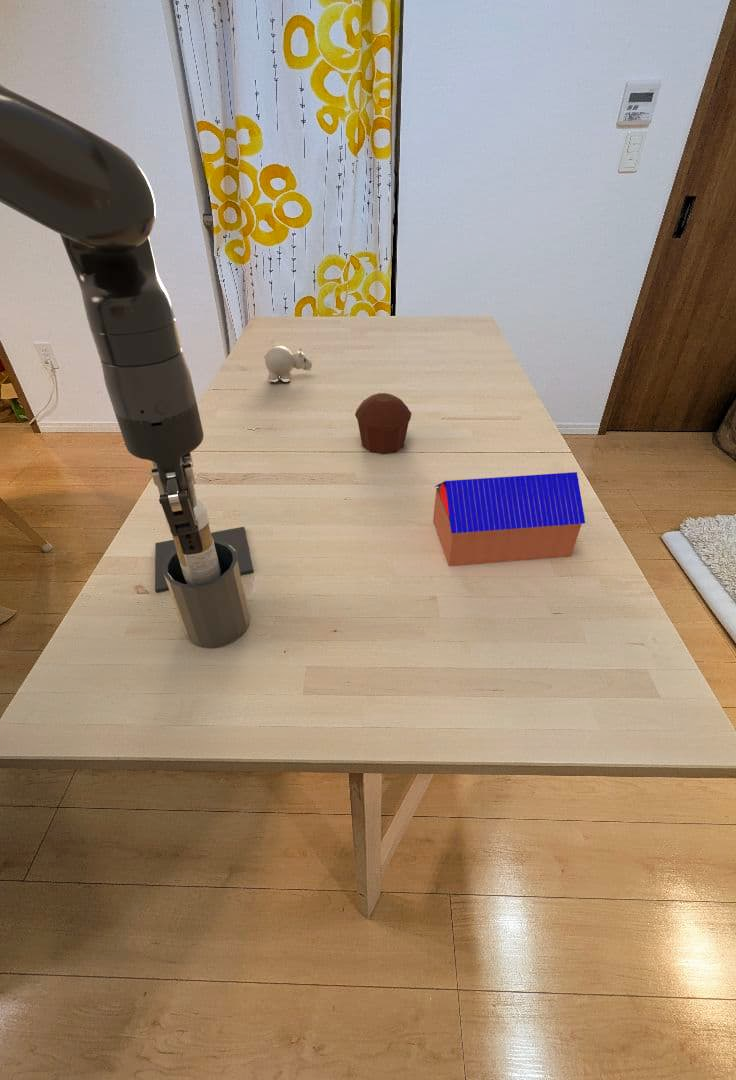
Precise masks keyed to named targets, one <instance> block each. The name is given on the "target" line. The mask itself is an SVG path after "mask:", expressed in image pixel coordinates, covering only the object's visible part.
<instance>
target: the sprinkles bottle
mask: <svg viewBox="0 0 736 1080" xmlns="http://www.w3.org/2000/svg"><path fill="white" fill-rule="evenodd" d="M194 510H195V514H196V518H197V519H198V522H199V524H198V529H199V533H200V537H201V541H202V544H203V551H202V552H200V553H195V554H190V555H185V554H183V552H182V548H181V545H180V541H179V538H178V536H173V534H172V533H171V536H172V540H174V543H175V546H176V550H177V555H178V558H179V561H180V565H181V568H182V572H183V575H184V578H185V581H186V582H187V584H191V585H197V584H202V583H207V582H210V581H212V580H214V579H216V578H218V577H221V570H220V566H219V562H218V557H217V553H216V549H215V545H214V541H213V538H212V535H211V533H212V531H211V527H210V522H209V521H210V516H209V512H208V508H207V505H206V504H205V503H204V502H203V501H201V500H200V499H197V505H196V507H194ZM164 518H165V522H166V525H167V528H168V530H169V531H170V526H169V524H168V521H167V518H166V516H165V515H164Z"/></svg>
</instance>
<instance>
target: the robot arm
mask: <svg viewBox="0 0 736 1080" xmlns="http://www.w3.org/2000/svg"><path fill="white" fill-rule="evenodd" d="M0 203H1V204H3V205H5V206H7V207H8V208H10V209H12V210H14V211H16V212H18V213H20V215H21V214H22V215H23V216H25V217H27V218H29V219H30V220H32V221H33V222H36V223H37V224H39V225H42V226H44V227H45V228H47V229H49V230H51V231H53V232H55V233H57V234H59V235H60V238H61V241H62V244H63V247H64V249H65V253H66V254H67V257H68V259H69V262H70V265H71V267H72V270H73V272H74V275H75V277H76V281H77V282H78V285H79V289H80V292H81V298H82V302H83V306H84V311H85V316H86V319H87V323H88V327H89V330H90V333H91V336H92V338H93V342H94V344H95V349H96V351H97V354H98V358H99V360H100V363H101V369H102V373H103V379H104V384H105V387H106V390H107V393H108V397H109V400H110V403H111V405H112V409H113V412H114V415H115V418H116V421H117V424H118V427H119V430H120V433H121V436H122V439H123V442H124V445H125V448H126V450H127V452H129V454H131V455H132V456H134V457H135V458H138V459H141V460H146V461H151V463H152V466H153V468H150V469H151V476H152V480H153V483H154V485H155V486H156V487H157V489H158V493H159V498H158V501H159V505H161V508H162V510H163V514H164V517H165V516H166V518H167V521H168V524H169V526H170V530H169V531H170V534H171V535H172V534H173V536H178V538H179V541H180V545H181V548H182V552H183V554H185V555H190V554H195V553H200V552H202V551H203V544H202V541H201V537H200V533H199V529H198V524H199V522H198V519H197V518H196V514H195V510H194V507H196V505H197V500H198V497H197V492H196V488H195V485H196V476H195V472H194V461H193V456H192V453H193V452H194V450H197V449H198V448H199V446H200V445H201V444H202V442H203V440H204V436H205V435H204V429H203V424H202V420H201V416H200V411H199V407H198V402H197V397H196V394H195V388H194V385H193V380H192V375H191V371H190V368H189V365H188V363H187V360H186V358H185V354H184V351H183V348H182V343H181V339H180V334H179V331H178V330H179V329H178V325H177V321H176V317H175V313H174V308H173V305H172V301H171V300H170V296H169V294H168V291H167V290H166V288H165V286H164V284H163V282H162V281H161V278H160V276H159V274H158V271H157V267H156V263H155V257H154V254H153V249H152V245H151V241H150V235H151V233H152V232H153V228H154V226H155V221H156V215H157V214H156V213H157V212H156V201H155V197H154V193H153V190H152V187H151V185H150V182H149V180H148V178H147V176H146V175H145V172H144V171H143V169H142V168H141V167H140V166H139V164H138V163H137V162H136V161H135V160H134V159H133V157H132V156H130V155H129V154H128V153H127V152H126V151H124V150H123V149H122V148H120V147H119V146H117V145H115V144H114V143H112V142H110V141H109V140H107V139H105V138H103V137H102V136H99V135H98V134H96V133H94V132H92V131H91V130H89V129H86V128H85V127H83V126H81V125H79V124H77V123H75V122H74V121H72V120H70V119H68V118H66V117H64V116H62V115H60V114H58V113H57V112H54V111H52V110H50V109H48V108H47V107H45V106H43V105H41V104H39V103H37V102H34V101H33V100H31V99H29V98H27V97H25V96H23V95H21V94H19V93H17V92H15V91H12V90H11V89H9V88H7V87H6V86H4V85H2V84H1V83H0ZM173 536H172V537H173Z"/></svg>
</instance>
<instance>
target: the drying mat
mask: <svg viewBox="0 0 736 1080" xmlns="http://www.w3.org/2000/svg"><path fill="white" fill-rule="evenodd" d="M211 535H212V538H213V540H218V541H221V542H224V543H226V544H229V545H230V546H231V547H232V548H233V549H234V550H235V551H236V555H237V560H238V564H239V569H240V573H241V576H242V575H248V574H253V573H254V567H253V562H252V557H251V552H250V547H249V543H248V537H247V533H246V528H245V526H241V527H235V528H229V529H224V530H218V531H213V532H212V531H211ZM154 545H155V546H154V547H155V548H154V552H155V553H154V554H155V555H154V591H155V593H160V592H165V591H169V588H168V585H167V582H166V579H165V576H164V564H165V562H166V560H167V559H168V557H169V556H170V555H171V554H172V553H173V552H175V551H176V546H175V543H174V539H169V540H164V541H158V542H155V544H154Z"/></svg>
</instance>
